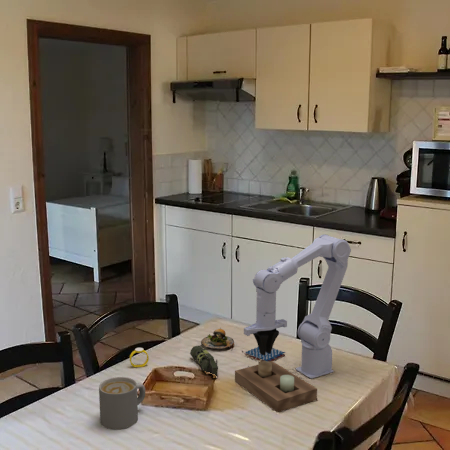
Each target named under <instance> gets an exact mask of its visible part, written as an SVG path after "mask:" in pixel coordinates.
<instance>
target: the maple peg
mask: <svg viewBox="0 0 450 450" xmlns="http://www.w3.org/2000/svg"><path fill="white" fill-rule="evenodd" d="M257 365H258V375H259V376H260V377H265V378H266V377H269V376H271V373H272V363H271V362H268V361H261V362H259V361H258V364H257Z"/></svg>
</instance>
